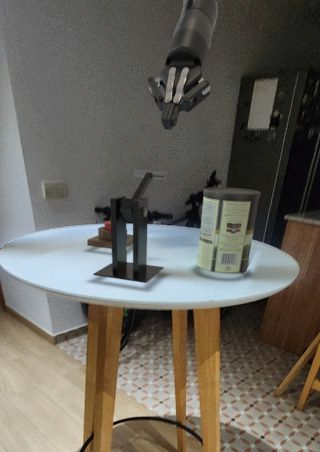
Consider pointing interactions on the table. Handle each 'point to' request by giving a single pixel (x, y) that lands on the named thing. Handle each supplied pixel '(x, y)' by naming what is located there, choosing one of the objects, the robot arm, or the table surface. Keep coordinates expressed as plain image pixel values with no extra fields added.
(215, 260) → the coffee can
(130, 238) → the block
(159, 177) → the lever
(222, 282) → the table surface
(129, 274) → the bracket
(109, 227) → the button
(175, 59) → the robot arm
